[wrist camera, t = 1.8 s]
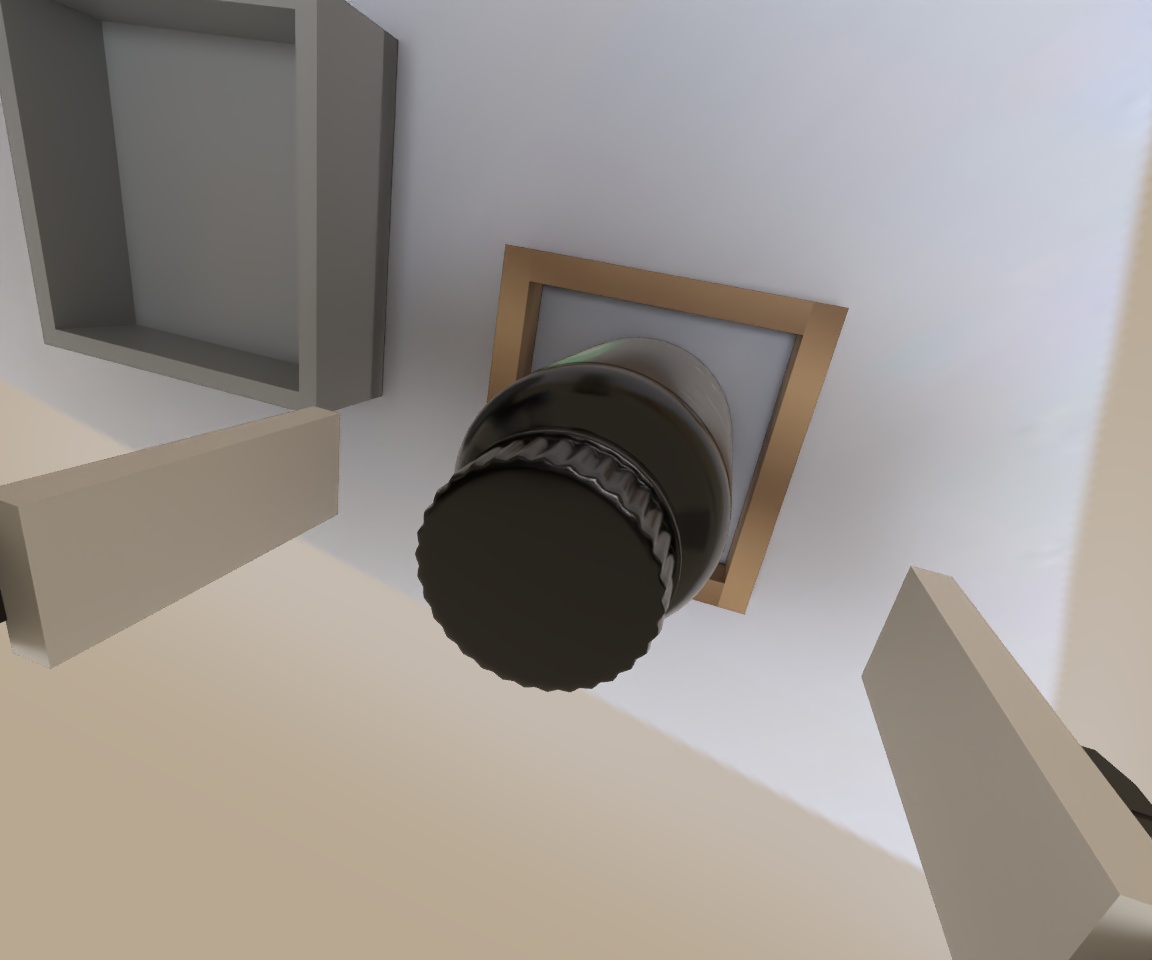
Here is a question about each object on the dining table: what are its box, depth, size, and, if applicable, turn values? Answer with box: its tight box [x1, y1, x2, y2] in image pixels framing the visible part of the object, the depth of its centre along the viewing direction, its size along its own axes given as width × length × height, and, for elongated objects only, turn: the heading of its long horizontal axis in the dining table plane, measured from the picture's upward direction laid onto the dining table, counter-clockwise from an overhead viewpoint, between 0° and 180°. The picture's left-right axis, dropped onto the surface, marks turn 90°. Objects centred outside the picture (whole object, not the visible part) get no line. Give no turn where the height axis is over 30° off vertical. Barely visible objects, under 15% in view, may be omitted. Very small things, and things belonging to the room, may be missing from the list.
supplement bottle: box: [415, 337, 732, 692], centre depth 15 cm, size 7×7×12 cm
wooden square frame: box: [487, 244, 849, 614], centre depth 20 cm, size 11×11×2 cm
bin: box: [0, 0, 398, 411], centre depth 20 cm, size 12×12×4 cm
